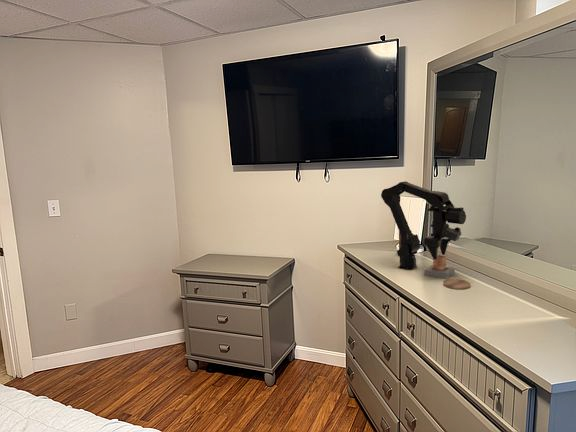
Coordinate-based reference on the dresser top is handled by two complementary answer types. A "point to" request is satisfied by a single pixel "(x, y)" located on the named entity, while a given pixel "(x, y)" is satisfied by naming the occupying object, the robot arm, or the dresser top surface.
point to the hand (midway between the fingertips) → (439, 256)
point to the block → (439, 263)
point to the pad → (456, 284)
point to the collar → (439, 272)
